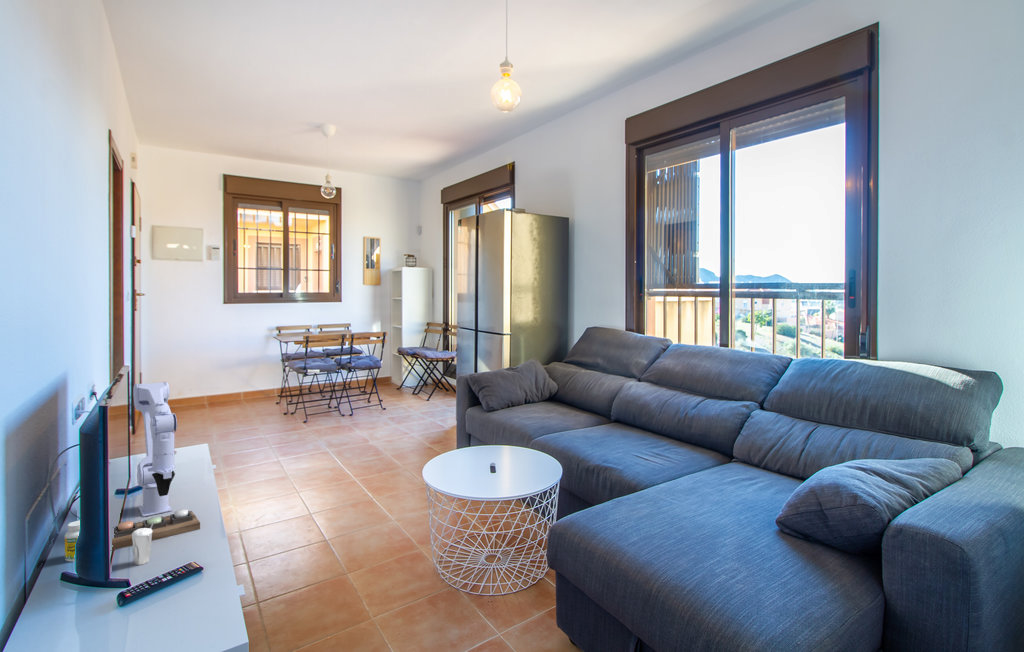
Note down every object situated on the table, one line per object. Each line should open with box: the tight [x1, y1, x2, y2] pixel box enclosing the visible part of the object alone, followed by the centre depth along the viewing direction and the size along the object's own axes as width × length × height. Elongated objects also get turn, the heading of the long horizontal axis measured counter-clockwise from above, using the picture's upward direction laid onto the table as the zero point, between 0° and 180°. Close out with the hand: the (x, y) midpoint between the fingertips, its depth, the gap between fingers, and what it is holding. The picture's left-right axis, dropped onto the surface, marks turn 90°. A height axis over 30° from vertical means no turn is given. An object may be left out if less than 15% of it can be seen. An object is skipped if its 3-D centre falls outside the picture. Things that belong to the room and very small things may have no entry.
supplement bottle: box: [64, 520, 80, 562], centre depth 138 cm, size 5×5×10 cm
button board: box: [111, 510, 201, 551], centre depth 154 cm, size 12×22×4 cm, turn 133°
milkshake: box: [132, 522, 154, 566], centre depth 136 cm, size 4×5×10 cm
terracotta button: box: [117, 520, 134, 531], centre depth 149 cm, size 4×4×2 cm
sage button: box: [146, 516, 162, 525], centre depth 154 cm, size 4×4×2 cm
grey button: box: [173, 508, 189, 519], centre depth 159 cm, size 4×4×2 cm
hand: (163, 495), depth 159 cm, fingers closed
